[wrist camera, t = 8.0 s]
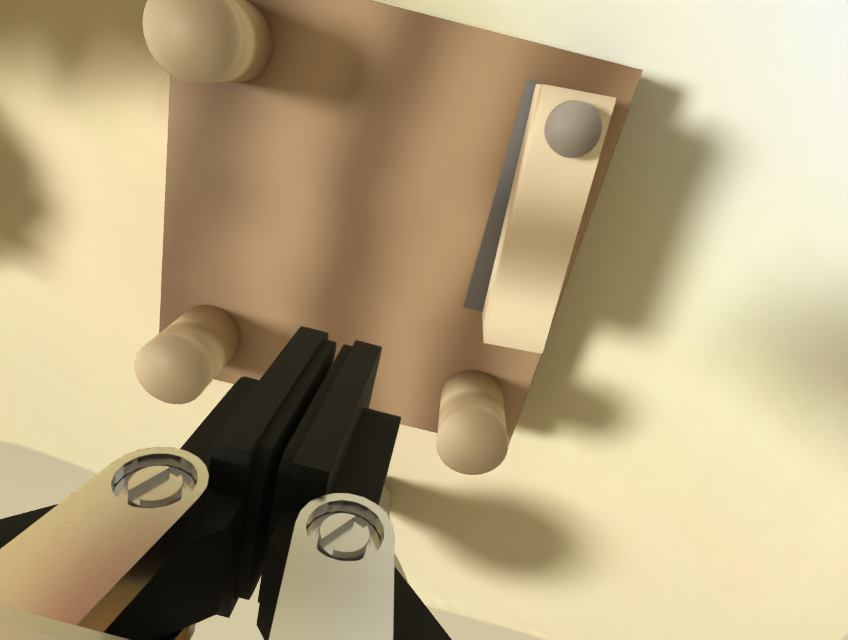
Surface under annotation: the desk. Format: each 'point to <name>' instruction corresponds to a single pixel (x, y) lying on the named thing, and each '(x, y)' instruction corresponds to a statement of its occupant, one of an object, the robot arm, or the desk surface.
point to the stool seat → (350, 199)
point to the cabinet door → (544, 214)
